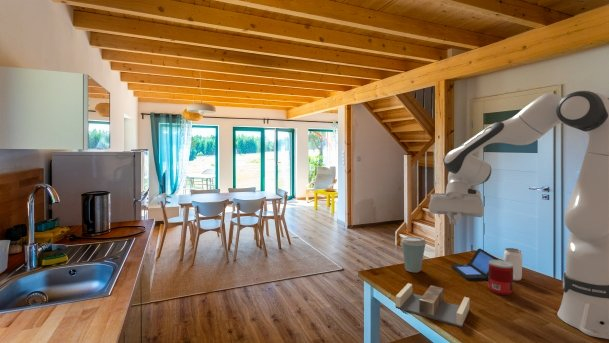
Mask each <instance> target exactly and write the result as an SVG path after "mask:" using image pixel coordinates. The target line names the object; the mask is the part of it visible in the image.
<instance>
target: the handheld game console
mask: <svg viewBox="0 0 609 343" xmlns="http://www.w3.org/2000/svg"><path fill="white" fill-rule="evenodd" d="M490 260H500V259H499V258H497V257H495V256H494V255H492V254H491V253H489V252H487V251H485V250H484V249H482V248H478V249H477V250H476V251H475V253H474V254H473V256H472V258H471V259H470V260H469V262H467V263H461V264H459V263H457V264H451V266H450V267H451V268H452V269H453V270H454V271H456V272H457V273H458V274H459V275H460V276H462V277H463V278H464V279H465V280H467V281H488V275H489V261H490Z"/></svg>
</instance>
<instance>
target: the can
mask: <svg viewBox="0 0 609 343" xmlns="http://www.w3.org/2000/svg"><path fill="white" fill-rule="evenodd" d="M503 261H507V262H510V263H512V264H513V281H521V280H522V276H523V253H522V250H520V249H519V248H515V247H514V248H513V247H507V248H505V250H504V252H503Z"/></svg>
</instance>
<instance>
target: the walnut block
mask: <svg viewBox="0 0 609 343" xmlns="http://www.w3.org/2000/svg"><path fill="white" fill-rule="evenodd" d="M421 296H422V297H421V299H419V312H423V313H426V314H429V315H434V313H435V311H436V310H437V308H438V307H439V305H440V304H441V302H442V301H443V300H444V288H443V287H439V286H436V285H431V284H430V286H429V287H428V288H427V289H426V291H425V292H424V293H423V294H422V295H421Z"/></svg>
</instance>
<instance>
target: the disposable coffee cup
mask: <svg viewBox="0 0 609 343" xmlns="http://www.w3.org/2000/svg"><path fill="white" fill-rule="evenodd" d="M426 245H427V242H426V238H424V237H421V236H405V237H403V238H401V246H402V247H401V248H402V253H403V263H404V268H405V270H406V271H407V272H410V273H419V272H421V270H422V266H423V264H422V263H423V260H424V254H425V248H426Z"/></svg>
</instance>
